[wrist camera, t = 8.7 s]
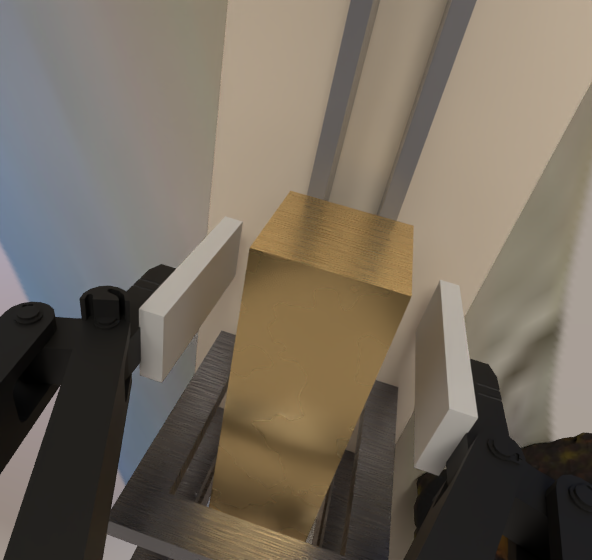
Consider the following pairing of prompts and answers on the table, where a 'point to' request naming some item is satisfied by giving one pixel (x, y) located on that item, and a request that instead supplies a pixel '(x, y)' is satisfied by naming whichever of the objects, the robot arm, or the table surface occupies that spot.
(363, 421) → the collar
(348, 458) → the collar
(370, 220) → the long golden plank
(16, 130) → the table surface
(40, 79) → the table surface
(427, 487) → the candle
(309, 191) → the long cream board
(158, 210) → the table surface
